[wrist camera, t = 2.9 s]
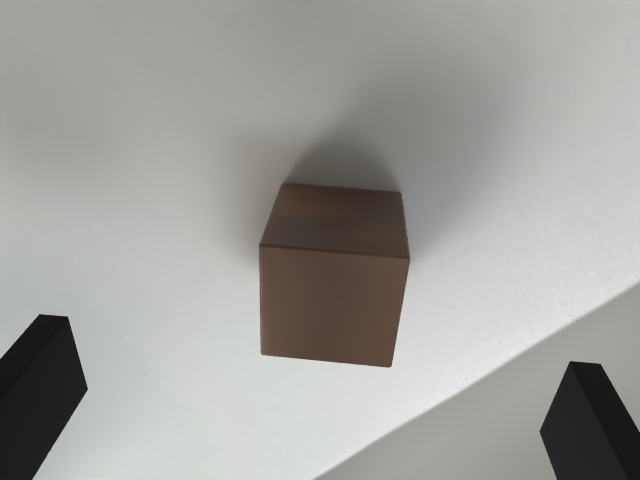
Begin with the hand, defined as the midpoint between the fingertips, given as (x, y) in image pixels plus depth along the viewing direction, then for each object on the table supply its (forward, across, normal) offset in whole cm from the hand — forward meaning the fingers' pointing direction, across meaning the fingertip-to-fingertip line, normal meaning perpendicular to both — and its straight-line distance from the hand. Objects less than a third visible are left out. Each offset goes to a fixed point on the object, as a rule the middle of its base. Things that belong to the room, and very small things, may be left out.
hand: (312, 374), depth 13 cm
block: (+7, 0, 0) cm, 7 cm away
